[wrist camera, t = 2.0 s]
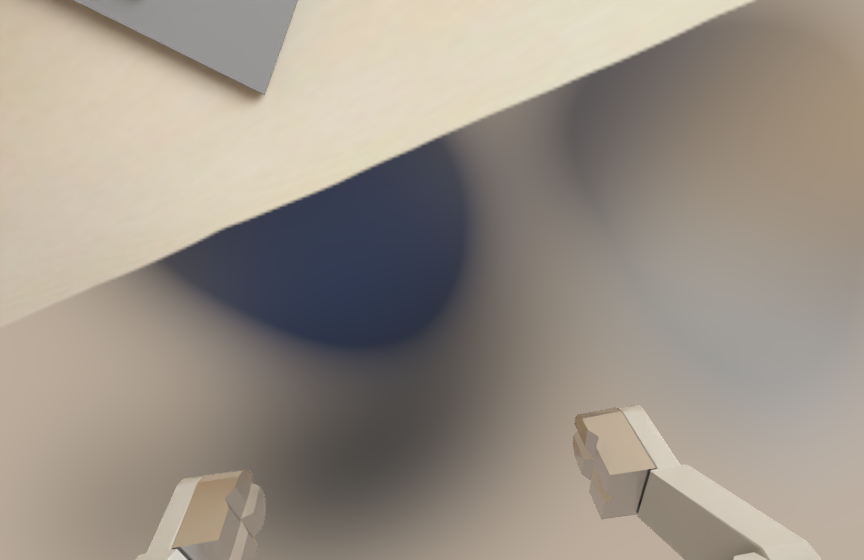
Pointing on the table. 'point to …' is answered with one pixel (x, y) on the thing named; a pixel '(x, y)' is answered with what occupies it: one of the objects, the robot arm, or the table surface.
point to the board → (211, 31)
